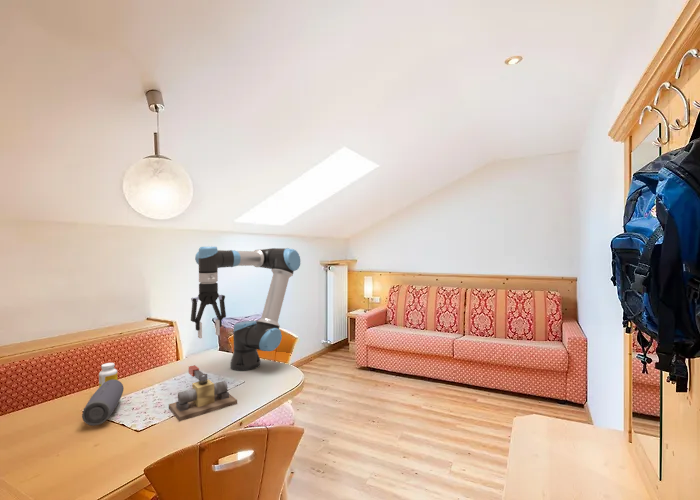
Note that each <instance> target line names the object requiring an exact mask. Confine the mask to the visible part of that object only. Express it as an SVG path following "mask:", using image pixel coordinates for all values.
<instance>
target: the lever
mask: <svg viewBox="0 0 700 500" xmlns="http://www.w3.org/2000/svg"><path fill="white" fill-rule="evenodd" d="M188 374H189V375H190V376H191V377H193V378H195V379H197V380H198V382H199V384H205V383H207V382H208V381H207V379H208V373H203V372H202V371H201V370H200V368H199V367H198V366H196V364H195V365H190V366H188Z"/></svg>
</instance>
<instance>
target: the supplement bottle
mask: <svg viewBox="0 0 700 500" xmlns="http://www.w3.org/2000/svg"><path fill="white" fill-rule="evenodd" d="M113 379H114V380H118V369H117V368H115V363H114V362H106V363H103V364H101V370H100V372H99V373H98V388H99V387H100V386H101V385H102V384H103V383H105V382H106V381H108V380H113ZM118 381H119V380H118Z"/></svg>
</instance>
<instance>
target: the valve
mask: <svg viewBox="0 0 700 500" xmlns="http://www.w3.org/2000/svg"><path fill="white" fill-rule="evenodd" d="M207 381H208V382H207V383H205V384H199V381H195V382H192V385H191V386H192V387H191V388H192V389H188V390H183V391H180V392H177V401H175V402H172V403H169V404H168V409H169V411H170V412H171V413H172V414H173V415H174V416H175V417H176V419H177V420H178V422H182V421H185V420H188V419H192V418H195V417H198V416H202V415H204V414H208V413H212V412H215V411H218V410H222V409H224V408H228V407H232V406H235V405H237V404H238V399H236V398H235V397H234V396H233V395H232V394H231V393H230V392H229V391H228V390H229V389H228V383H227V381H226V380H223V381H220V382H213V381H212V380H210V379H209V378H207Z"/></svg>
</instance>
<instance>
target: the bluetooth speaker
mask: <svg viewBox="0 0 700 500" xmlns="http://www.w3.org/2000/svg"><path fill="white" fill-rule="evenodd" d="M123 392H124V384H123V383H122V381H120V380H114V379H113V380H108V381H106V382H105V383H103V384H102V385H101V386H100V387H99V386H98V388H97V389H96V391H95V392H94V393H93V394H92V395H91V397H90V398H89V400H88V402H87V403H86V405H85V406H84V408H83V410H82V414H81V417H82V421H83V422H84V423H85V424H87V425H89V426H99V425H102V424H104V422H106V421H107V420H108V419H109V418H110V417H111V415H112V414H113V412H114V411H115V409H116V408H117V406H118V405H119V402H120V400H121V398H122V396H123Z"/></svg>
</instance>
